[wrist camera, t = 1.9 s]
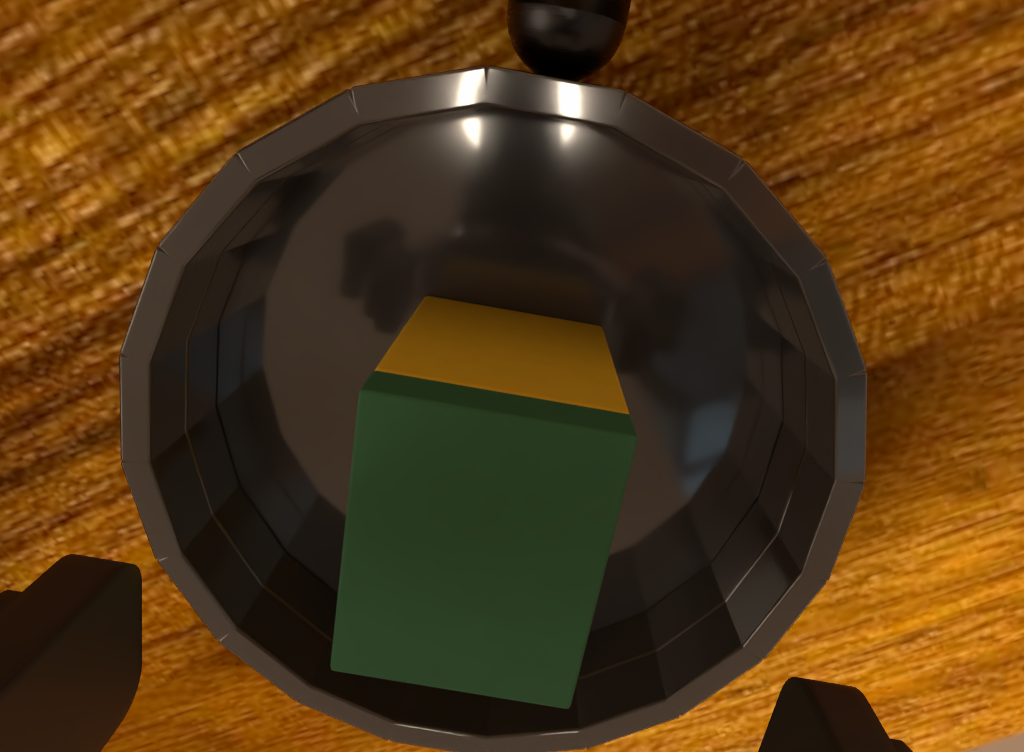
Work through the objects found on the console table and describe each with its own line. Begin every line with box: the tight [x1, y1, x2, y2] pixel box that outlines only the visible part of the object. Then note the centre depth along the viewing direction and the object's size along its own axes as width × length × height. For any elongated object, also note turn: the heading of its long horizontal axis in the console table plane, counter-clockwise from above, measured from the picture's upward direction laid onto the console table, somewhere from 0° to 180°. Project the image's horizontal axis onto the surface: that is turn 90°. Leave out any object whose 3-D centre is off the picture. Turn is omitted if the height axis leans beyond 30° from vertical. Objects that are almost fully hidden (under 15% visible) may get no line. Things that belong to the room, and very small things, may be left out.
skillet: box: [119, 65, 867, 752], centre depth 15 cm, size 14×14×4 cm
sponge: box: [330, 296, 638, 709], centre depth 14 cm, size 5×4×6 cm
